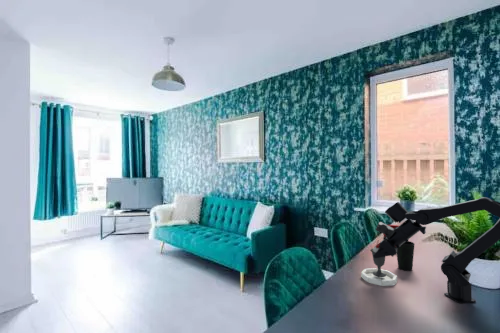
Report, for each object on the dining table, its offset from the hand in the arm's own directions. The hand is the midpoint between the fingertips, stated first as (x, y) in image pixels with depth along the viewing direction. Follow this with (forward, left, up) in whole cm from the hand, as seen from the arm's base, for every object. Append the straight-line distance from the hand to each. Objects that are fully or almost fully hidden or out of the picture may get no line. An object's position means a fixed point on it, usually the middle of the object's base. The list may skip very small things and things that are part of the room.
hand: (375, 254), depth 111 cm
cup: (+8, -19, -10) cm, 23 cm away
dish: (-1, -1, -10) cm, 10 cm away
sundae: (-1, -1, -8) cm, 8 cm away
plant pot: (+39, -36, -10) cm, 54 cm away
